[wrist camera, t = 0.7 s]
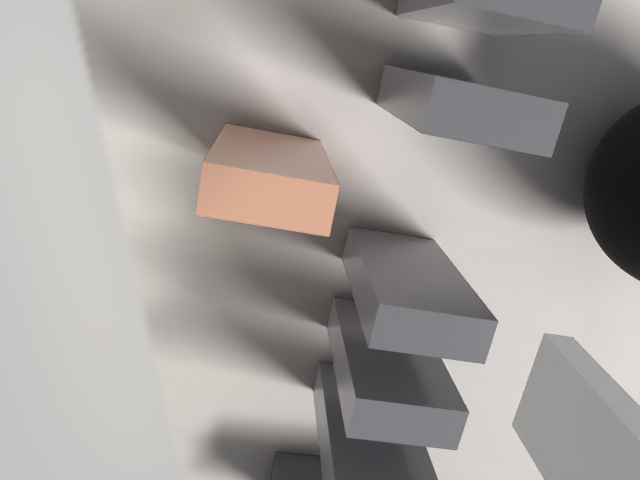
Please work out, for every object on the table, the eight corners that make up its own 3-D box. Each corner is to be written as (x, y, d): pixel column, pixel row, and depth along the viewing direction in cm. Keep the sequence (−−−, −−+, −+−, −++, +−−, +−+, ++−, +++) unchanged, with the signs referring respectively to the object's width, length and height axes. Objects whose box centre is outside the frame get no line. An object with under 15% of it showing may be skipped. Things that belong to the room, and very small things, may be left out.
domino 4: (349, 226, 32) (379, 303, 23) (434, 240, 33) (498, 321, 23) (342, 259, 33) (368, 348, 23) (425, 272, 33) (484, 364, 24)
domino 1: (225, 123, 30) (202, 161, 20) (320, 140, 30) (340, 186, 21) (220, 160, 30) (195, 215, 21) (313, 177, 31) (329, 237, 22)
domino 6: (319, 362, 35) (335, 482, 25) (398, 372, 35) (442, 493, 26) (313, 390, 35) (326, 517, 26) (391, 400, 36) (432, 527, 27)
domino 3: (384, 64, 29) (436, 76, 20) (476, 83, 30) (569, 103, 20) (375, 104, 30) (421, 133, 20) (466, 121, 31) (551, 157, 21)
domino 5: (333, 296, 33) (356, 398, 24) (415, 309, 34) (469, 412, 25) (327, 327, 34) (346, 437, 25) (407, 338, 35) (456, 450, 25)
